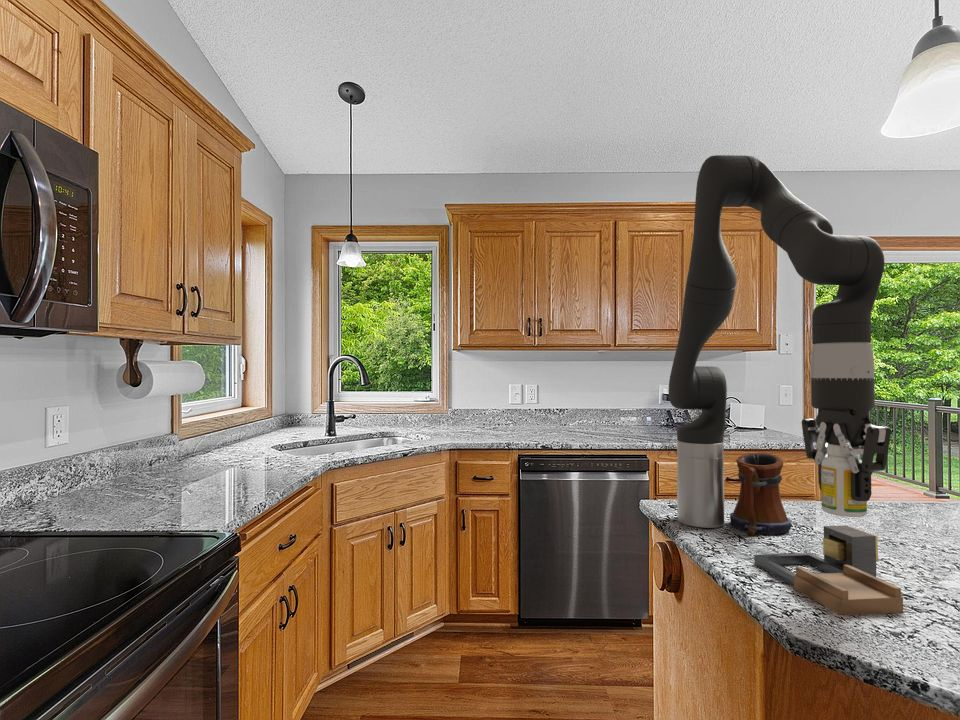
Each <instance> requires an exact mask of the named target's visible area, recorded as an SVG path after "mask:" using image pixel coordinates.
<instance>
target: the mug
mask: <svg viewBox="0 0 960 720" xmlns="http://www.w3.org/2000/svg"><path fill="white" fill-rule="evenodd" d="M735 462H736V465H737V467H738V470H737V471H738V473H737V475H738V477H737V478H738V479H739V482H740V488H739V489H740V490H739V495H738V499H737V503H736V505H735V508H734V510H733V512H730V514H729V518H730V519H729V520H730V525H731V527H732V526H733V527H732V528H734V529H737V530H740V531H743V532H746V531H747V532H746V533H747V535H748V536H751V537H753V536H755V535H756V534H757V535H764V534H765V535H767V536H776V535H777V534H778V535H783V534H785V533H788V532H789V531H790V530H791V529H792V522H791V520H790V518H789V517H788V516H787V514H786V510H785V507H784V506H783V502H782V498H781V492H780V491H781V490H780V483H781V481H782V480H783V477H782V475H781V472H782V468H783V467H784V459H783V458H781V457H779V456H777V455H775V454H772V453H769V452H756V453H755V452H750V453H745V454H743V455H740V456H738V458H737V459H736V460H735ZM755 533H756V534H755ZM765 535H764V536H765Z"/></svg>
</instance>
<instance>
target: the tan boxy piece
mask: <svg viewBox="0 0 960 720" xmlns="http://www.w3.org/2000/svg"><path fill="white" fill-rule="evenodd" d="M851 527H852V528H855V529H857V530H860V531H863V532H866V533H869V534H871V535H874V536H876V563H878V562H879V537H878V535H876V534H873V533H870V532H868V531H864V530H861V529H858V528H856V527H853V526H851ZM822 538H823V539H822V546H823V547H822V550H823V551H822V554H823V555H824V554H825V555H827V556H830V557H832V558H834V559H836V560H846V541H845V540H842V539H840V538H824V537H822Z"/></svg>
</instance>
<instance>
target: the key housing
mask: <svg viewBox="0 0 960 720" xmlns="http://www.w3.org/2000/svg"><path fill="white" fill-rule="evenodd" d="M852 527H853V526H848V525H846V524H845V525H823V538H840V539H842V540H845V541H846V560H836V559H834V558H832V557H830V556H827V555H825V554H823V559H824V560H827V561H829V562H831V563H833V564H835V565H837V566H840V567H842V568H843V565H850V566H852V567H855V568H857V569H859V570H861V571H864V572H866V573H868V574H870V575H873V576H875V577H877V562H876V536H877V535H876V536H874V535H875V534H873V535H871V534H872V533H870V532H867V531H865V532H863V531H864V530H862V531H860V530H861V529H859V530H857V529H858V528H856V527H853V528H852ZM855 528H856V529H855ZM866 532H867V533H866ZM869 533H870V534H869Z"/></svg>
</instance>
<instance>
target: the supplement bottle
mask: <svg viewBox="0 0 960 720" xmlns="http://www.w3.org/2000/svg"><path fill="white" fill-rule="evenodd" d="M826 444H827V443H826ZM853 449H861V448H860V446H859V447H858V448H857V447H853ZM828 454H829V457H827V458H825V459H823V460H822V463H821V490H820V491H821V493H820V495H821V499H820V500H821V501H820V502H821V503H820V504H821V510H822V511H823V512H824V513H827V514H829V515H833V516H838V517H846V518H863V517H865V516H867V513H868V501H855V500H853V499H852V498H851V473H853V472H852V470H851V467H850V464H849V461H848V458H847V457H845V456H844V455H843V452H842V449H841V446H839V445H834V444H827V455H828ZM857 457H858V456H857ZM858 460H859V463H862V460H861V459H860V458H859V457H858Z"/></svg>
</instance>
